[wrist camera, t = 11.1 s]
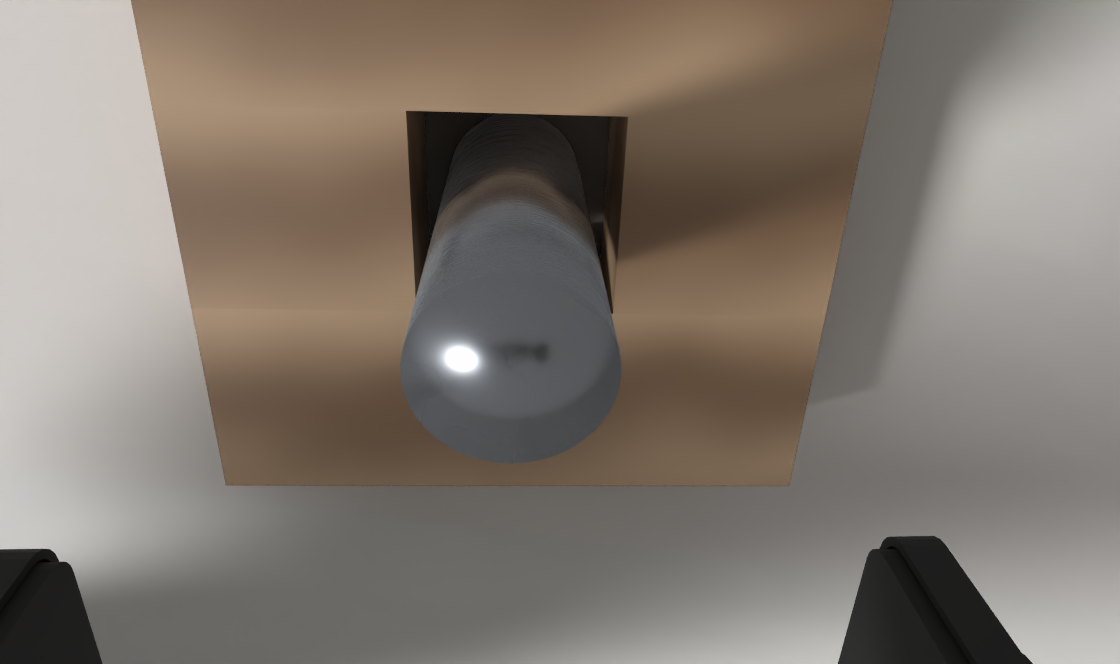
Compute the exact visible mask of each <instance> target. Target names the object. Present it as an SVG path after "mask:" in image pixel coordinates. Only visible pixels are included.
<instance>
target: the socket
mask: <svg viewBox="0 0 1120 664" xmlns="http://www.w3.org/2000/svg"><path fill="white" fill-rule="evenodd" d="M892 2H893V0H131V3H132V8H133V13H134V18H135V23H136V28H137V33H138V38H139V43H140V49H141V54H142V59H143V64H144V69H145V74H146V79H147V84H148V89H149V94H150V100H151V105H152V110H153V115H154V120H155V125H156V130H157V135H158V140H159V146H160V151H161V156H162V161H163V166H164V171H165V176H166V181H167V186H168V191H169V197H170V202H171V207H172V212H173V217H174V222H175V227H176V232H177V237H178V242H179V248H180V253H181V258H182V263H183V268H184V273H185V278H186V283H187V288H188V293H189V299H190V304H191V309H192V314H193V319H194V324H195V329H196V334H197V339H198V344H199V350H200V355H201V360H202V365H203V370H204V375H205V380H206V385H207V390H208V396H209V401H210V406H211V411H212V416H213V421H214V426H215V431H216V436H217V441H218V447H219V452H220V457H221V462H222V467H223V472H224V477H225V482H226V485H304V486H789V484H790V480H791V475H792V470H793V465H794V461H795V456H796V451H797V447H798V442H799V437H800V433H801V428H802V423H803V419H804V414H805V409H806V405H807V400H808V395H809V391H810V386H811V381H812V377H813V372H814V367H815V363H816V358H817V353H818V348H819V344H820V339H821V334H822V330H823V325H824V320H825V316H826V311H827V306H828V302H829V297H830V292H831V288H832V283H833V278H834V274H835V269H836V264H837V260H838V255H839V250H840V245H841V241H842V236H843V231H844V227H845V222H846V217H847V213H848V208H849V203H850V199H851V194H852V189H853V185H854V180H855V175H856V171H857V166H858V161H859V157H860V152H861V147H862V143H863V138H864V133H865V128H866V124H867V119H868V114H869V110H870V105H871V100H872V96H873V91H874V86H875V82H876V77H877V72H878V68H879V63H880V58H881V54H882V49H883V44H884V40H885V35H886V30H887V26H888V21H889V16H890V11H891V7H892ZM424 111H437V112H473V113H510V114H547V115H583V116H610V128H609V143H608V158H607V173H606V188H605V204H604V219H603V234H602V249H601V260H599V262H600V266H601V270H602V275H603V279H604V284H605V288H606V293H607V297H608V301H609V306H610V310H611V315H612V319H613V324H614V328H615V332H616V337H617V341H618V346H619V350H620V357H621V380H620V386H619V390H618V393H617V396H616V399H615V401H614V404H613V406H612V408H611V410H610V411H609V413H608V414H607V416H606V417H605V419H604V420H603V422H602V423H601V424H600V425H599V426H598V427H597V429H596V430H595V431H594V432H592V433H591V434H590V435H589V436H588V437H587V438H586V439H584V440H583V441H581V442H580V443H578V444H577V445H576V446H574V447H572V448H570V449H568V450H566V451H565V452H562V453H560V454H557V455H555V456H552V457H549V458H546V459H542V460H538V461H532V462H526V463H496V462H490V461H484V460H480V459H476V458H473V457H470V456H467V455H465V454H462V453H460V452H457V451H456V450H454V449H452V448H450V447H448V446H446V445H445V444H443V443H442V442H441V441H439V440H438V439H436V438H435V437H434V436H433V435H432V434H431V433H430V432H428V431H427V430H426V429H425V428H424V426H423V425H422V424H421V423H420V422H419V421H418V419H417V418H416V416H415V415H414V413H413V412H412V410H411V408H410V406H409V404H408V402H407V400H406V397H405V394H404V391H403V387H402V382H401V375H400V361H401V355H402V349H403V345H404V341H405V337H406V333H407V330H408V326H409V322H410V318H411V314H412V310H413V307H414V303H415V299H416V295H417V291H418V288H419V284H420V280H421V276H422V272H423V268H424V265H425V261H426V257H427V253H428V249H429V246H430V245H429V221H428V196H427V172H426V147H425V123H424Z"/></svg>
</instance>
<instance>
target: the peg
mask: <svg viewBox="0 0 1120 664" xmlns="http://www.w3.org/2000/svg"><path fill="white" fill-rule="evenodd" d="M400 375H401V382H402V387H403V391H404V394H405V397H406V400H407V402H408V404H409V406H410V408H411V410H412V412H413V413H414V415H415V416H416V418H417V419H418V421H419V422H420V423H421V424H422V425H423V426H424V428H425V429H426V430H427V431H428V432H430V433H431V434H432V435H433V436H434V437H435V438H436V439H438V440H439V441H441V442H442V443H443V444H445V445H446V446H448V447H450V448H452V449H454V450H456V451H457V452H460V453H462V454H465V455H467V456H470V457H473V458H476V459H480V460H484V461H490V462H496V463H526V462H532V461H538V460H542V459H546V458H549V457H552V456H555V455H557V454H560V453H562V452H565V451H566V450H568V449H570V448H572V447H574V446H576V445H577V444H578V443H580V442H581V441H583V440H584V439H586V438H587V437H588V436H589V435H590V434H591V433H592V432H594V431H595V430H596V429H597V427H598V426H599V425H600V424H601V423H602V422H603V420H604V419H605V417H606V416H607V414H608V413H609V411H610V410H611V408H612V406H613V404H614V401H615V399H616V396H617V393H618V390H619V386H620V380H621V357H620V350H619V346H618V341H617V337H616V332H615V328H614V324H613V319H612V315H611V310H610V306H609V301H608V297H607V293H606V288H605V284H604V279H603V275H602V270H601V266H600V262H599V257H598V253H597V248H596V244H595V239H594V235H593V231H592V226H591V222H590V217H589V213H588V208H587V204H586V200H585V195H584V191H583V186H582V182H581V177H580V173H579V169H578V164H577V160H576V157H575V154H574V152H573V149H572V147H571V145H570V144H569V142H568V140H567V139H566V138H565V137H564V135H563V134H562V133H561V132H560V131H559V130H558V129H557V128H556V127H554V126H553V125H552V124H550V123H549V122H547V121H545V120H543V119H541V118H539V117H536V116H534V115H530V114H510V113H502V114H497V115H494V116H491V117H488V118H486V119H484V120H482V121H480V122H479V123H477V124H476V125H474V126H473V127H472V128H471V129H470V130H469V131H468V132H467V133H466V134H465V135H464V136H463V138H462V139H461V141H460V142H459V144H458V145H457V148H456V150H455V152H454V155H453V158H452V162H451V165H450V169H449V173H448V177H447V181H446V184H445V188H444V192H443V196H442V200H441V204H440V207H439V211H438V215H437V219H436V223H435V226H434V230H433V234H432V238H431V242H430V246H429V249H428V253H427V257H426V261H425V265H424V268H423V272H422V276H421V280H420V284H419V288H418V291H417V295H416V299H415V303H414V307H413V310H412V314H411V318H410V322H409V326H408V330H407V333H406V337H405V341H404V345H403V349H402V355H401V361H400Z"/></svg>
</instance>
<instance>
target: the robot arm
mask: <svg viewBox="0 0 1120 664" xmlns="http://www.w3.org/2000/svg"><path fill="white" fill-rule="evenodd" d="M0 664H102V661H101V658H100V655H99V651H98V648H97V645H96V642H95V639H94V636H93V632H92V629H91V626H90V623H89V620H88V616H87V613H86V610H85V607H84V604H83V601H82V597H81V594H80V591H79V588H78V585H77V581H76V578H75V575H74V572H73V569H72V567H71V565H70V564H68V563H67V562H59V560H58V558H57V556H56V554H55V553H54V552H53V551H51V550H50V549H4V550H0ZM838 664H1032V662H1031V661H1030V660H1029V659H1028V658H1027V657H1026V656H1025V655H1024V654H1022V653H1021V651H1020V650H1019V649H1018V647H1017V646H1016V644H1015V643H1014V642H1013V640H1012V639H1011V637H1010V636H1009V634H1008V633H1007V632H1006V630H1005V629H1004V627H1003V626H1002V624H1001V623H1000V622H999V620H998V619H997V617H996V616H995V615H994V613H993V612H992V610H991V609H990V607H989V606H988V605H987V603H986V602H985V600H984V599H983V598H982V596H981V595H980V593H979V592H978V590H977V589H976V588H975V586H974V585H973V583H972V582H971V580H970V579H969V578H968V576H967V575H966V573H965V572H964V571H963V569H962V568H961V566H960V565H959V563H958V562H957V561H956V559H955V558H954V556H953V555H952V554H951V552H950V551H949V549H948V548H947V546H946V545H945V544H944V543H943V542H942V541H941V540H940V539H939V538H937V537H935V536H908V537H887V538H886V539H885V540H884V541H883V542H882V544H881V547H880V549H873V550H871V551H870V552H869V554H868V557H867V560H866V563H865V567H864V571H863V574H862V578H861V582H860V585H859V589H858V593H857V596H856V600H855V604H854V607H853V611H852V614H851V618H850V622H849V625H848V629H847V633H846V636H845V640H844V644H843V647H842V651H841V655H840V658H839V662H838Z"/></svg>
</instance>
